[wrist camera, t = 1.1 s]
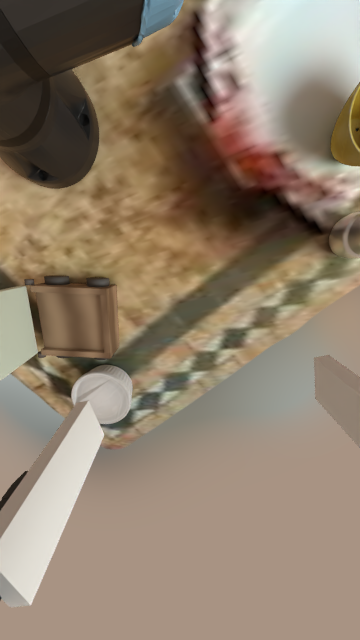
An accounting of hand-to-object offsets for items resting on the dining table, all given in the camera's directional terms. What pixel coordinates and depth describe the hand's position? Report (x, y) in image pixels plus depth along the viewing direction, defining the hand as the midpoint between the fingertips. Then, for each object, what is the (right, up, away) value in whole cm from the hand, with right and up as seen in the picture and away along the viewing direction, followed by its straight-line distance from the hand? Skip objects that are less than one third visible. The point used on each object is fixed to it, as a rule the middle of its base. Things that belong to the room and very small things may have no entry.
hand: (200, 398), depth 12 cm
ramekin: (-16, -9, +31) cm, 36 cm away
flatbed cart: (-20, +5, +26) cm, 33 cm away
